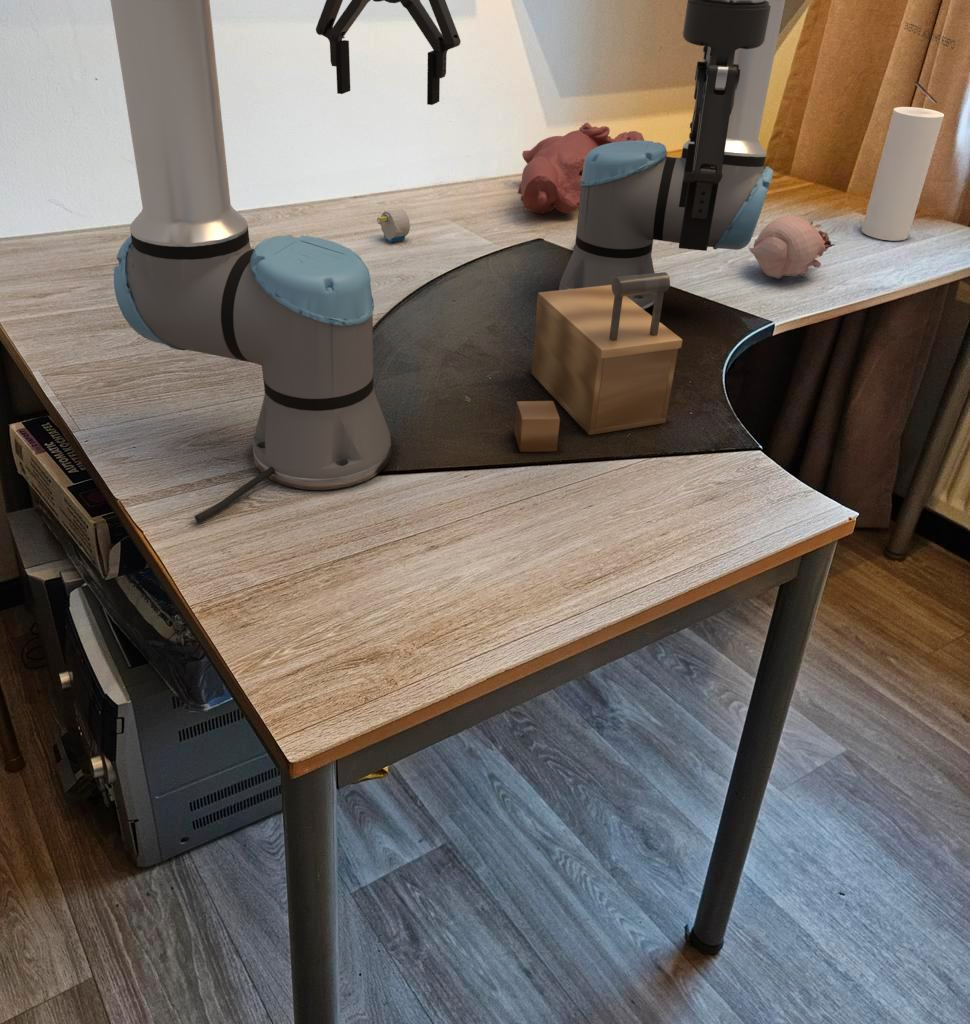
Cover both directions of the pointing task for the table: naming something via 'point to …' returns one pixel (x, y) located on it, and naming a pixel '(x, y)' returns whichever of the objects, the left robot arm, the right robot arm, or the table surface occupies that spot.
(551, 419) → the block
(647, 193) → the right robot arm
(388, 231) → the electric motor
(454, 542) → the table surface
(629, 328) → the lid
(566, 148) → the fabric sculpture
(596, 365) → the chest
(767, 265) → the toy
